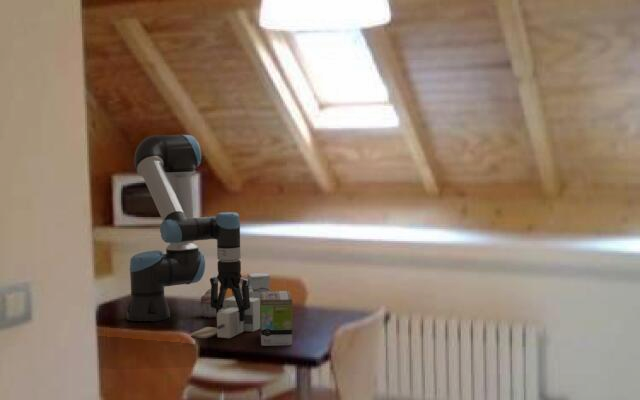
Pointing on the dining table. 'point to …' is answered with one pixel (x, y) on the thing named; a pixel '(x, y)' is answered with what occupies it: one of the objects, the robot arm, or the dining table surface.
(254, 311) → the socket box
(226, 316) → the charger plug
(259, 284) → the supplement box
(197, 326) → the dining table surface
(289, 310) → the tea box
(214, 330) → the cork mat
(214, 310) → the cupcake
